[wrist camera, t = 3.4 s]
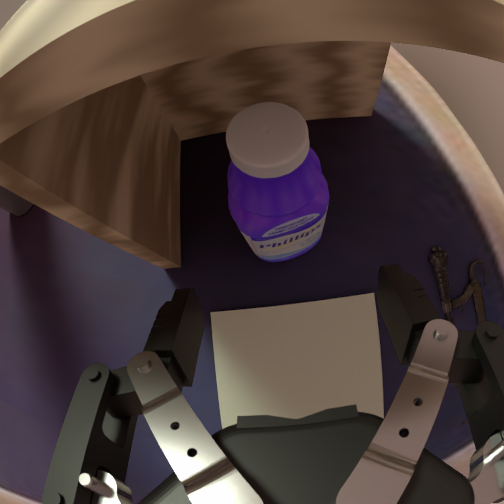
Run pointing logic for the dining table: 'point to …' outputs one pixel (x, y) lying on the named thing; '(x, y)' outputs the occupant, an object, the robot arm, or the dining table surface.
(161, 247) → the wooden slatted crate
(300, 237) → the bottle
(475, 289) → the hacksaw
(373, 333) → the mat
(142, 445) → the dining table surface
